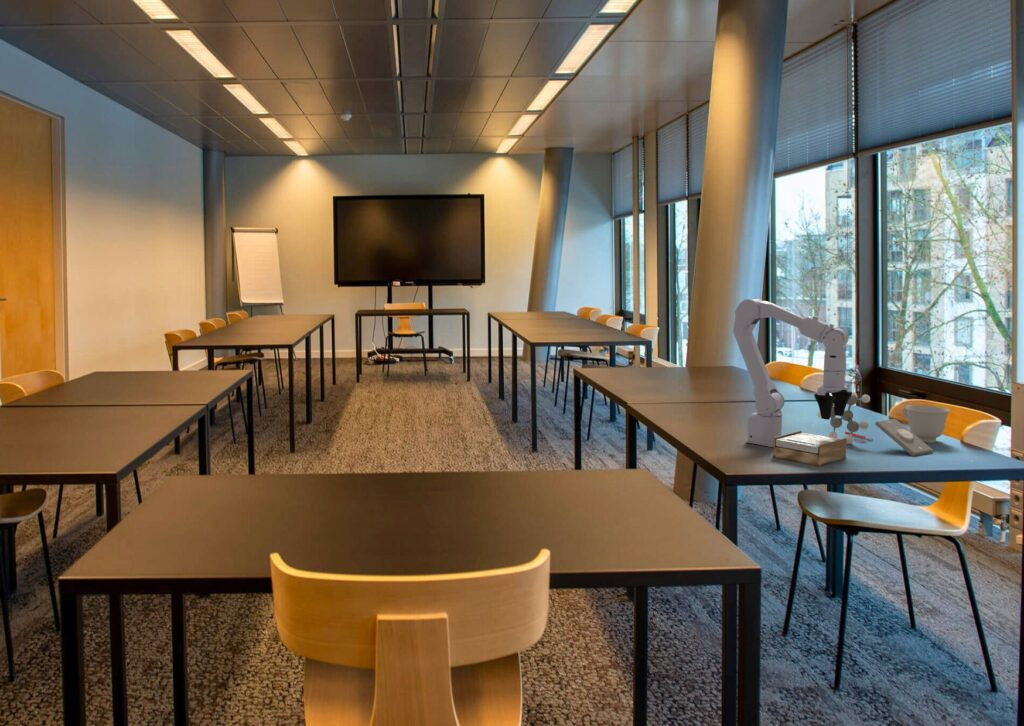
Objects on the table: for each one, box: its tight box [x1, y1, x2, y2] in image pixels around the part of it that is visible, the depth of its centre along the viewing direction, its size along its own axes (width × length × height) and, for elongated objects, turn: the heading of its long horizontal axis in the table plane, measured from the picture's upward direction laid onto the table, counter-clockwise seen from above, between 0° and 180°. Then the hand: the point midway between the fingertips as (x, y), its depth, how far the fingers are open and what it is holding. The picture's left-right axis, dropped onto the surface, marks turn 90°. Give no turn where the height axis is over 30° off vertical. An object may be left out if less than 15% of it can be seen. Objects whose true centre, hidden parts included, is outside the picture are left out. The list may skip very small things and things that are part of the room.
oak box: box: [772, 430, 847, 467], centre depth 217 cm, size 14×14×6 cm
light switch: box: [874, 418, 934, 457], centre depth 227 cm, size 8×6×14 cm
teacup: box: [902, 404, 951, 444], centre depth 239 cm, size 12×15×10 cm
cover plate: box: [776, 432, 841, 454], centre depth 217 cm, size 12×14×2 cm
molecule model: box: [816, 391, 874, 445], centre depth 240 cm, size 20×16×16 cm
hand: (832, 417), depth 224 cm, fingers open, 7 cm apart
